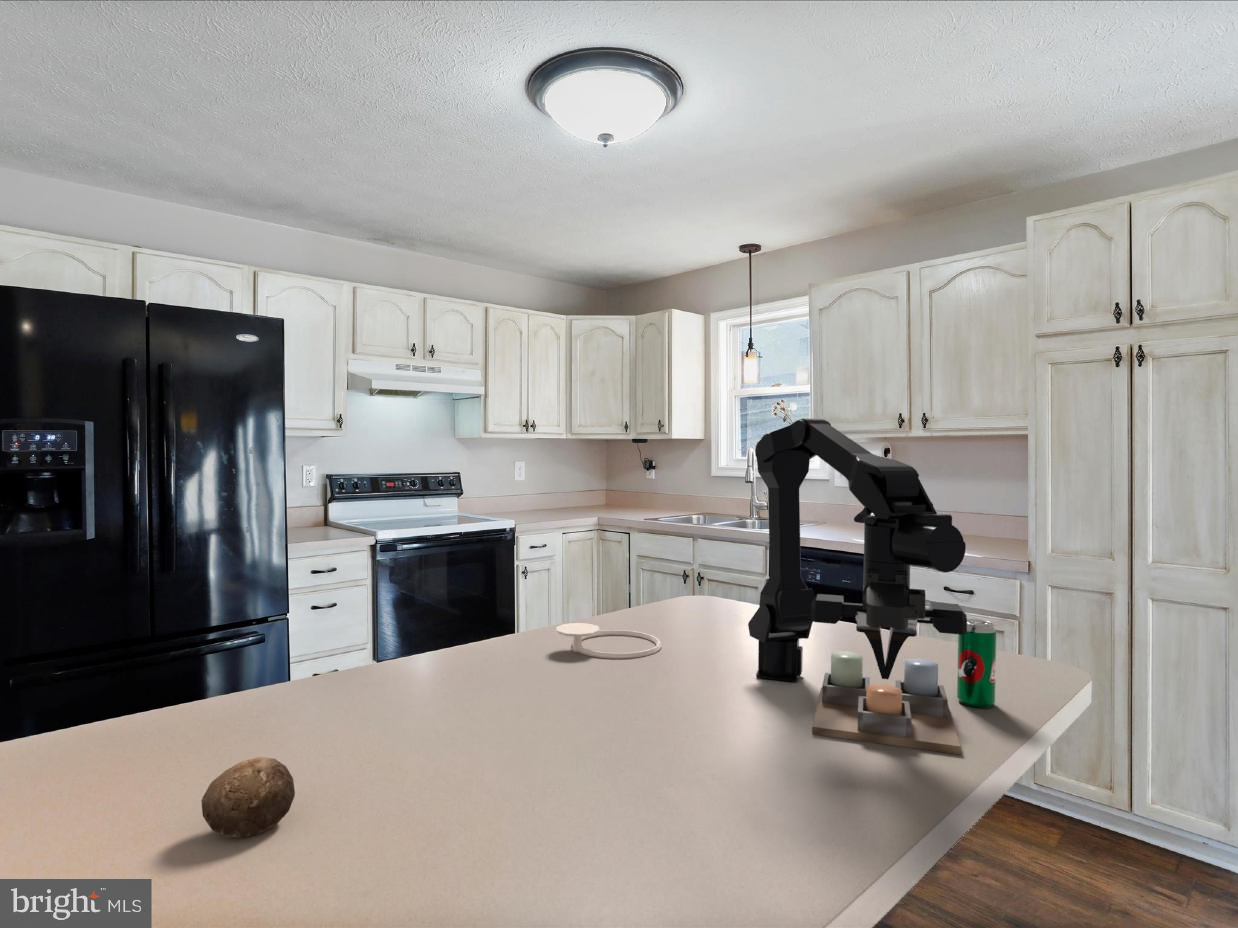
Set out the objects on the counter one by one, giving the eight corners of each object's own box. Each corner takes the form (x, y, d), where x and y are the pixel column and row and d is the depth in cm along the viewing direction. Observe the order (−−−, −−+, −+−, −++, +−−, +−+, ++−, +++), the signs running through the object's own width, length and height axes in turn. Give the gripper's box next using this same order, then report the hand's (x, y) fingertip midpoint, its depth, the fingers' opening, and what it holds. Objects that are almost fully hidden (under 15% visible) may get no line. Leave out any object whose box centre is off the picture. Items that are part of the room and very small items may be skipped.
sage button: (829, 685, 103) (830, 658, 103) (831, 676, 107) (831, 650, 107) (862, 689, 101) (862, 661, 101) (862, 679, 106) (862, 653, 105)
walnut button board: (812, 734, 93) (812, 708, 93) (820, 693, 109) (821, 671, 109) (960, 754, 87) (961, 726, 87) (947, 708, 103) (947, 685, 103)
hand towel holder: (678, 630, 130) (573, 642, 122) (678, 654, 131) (573, 667, 122) (637, 610, 146) (541, 619, 137) (636, 632, 146) (541, 642, 137)
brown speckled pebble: (231, 768, 75) (237, 733, 72) (303, 794, 76) (313, 760, 73) (181, 840, 68) (186, 804, 65) (261, 868, 69) (270, 834, 66)
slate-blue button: (904, 694, 100) (905, 665, 99) (903, 684, 104) (903, 656, 104) (938, 697, 98) (939, 669, 98) (936, 688, 102) (936, 660, 102)
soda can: (999, 710, 102) (1001, 627, 102) (961, 707, 103) (963, 625, 103) (989, 698, 107) (990, 619, 107) (952, 695, 108) (954, 617, 108)
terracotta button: (865, 723, 93) (866, 692, 93) (866, 711, 97) (866, 682, 97) (902, 728, 91) (902, 696, 91) (901, 716, 95) (901, 686, 95)
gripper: (808, 564, 89) (806, 689, 89) (973, 574, 83) (971, 708, 83) (815, 553, 100) (813, 664, 100) (962, 560, 93) (960, 679, 94)
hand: (885, 678), depth 94 cm, fingers closed
